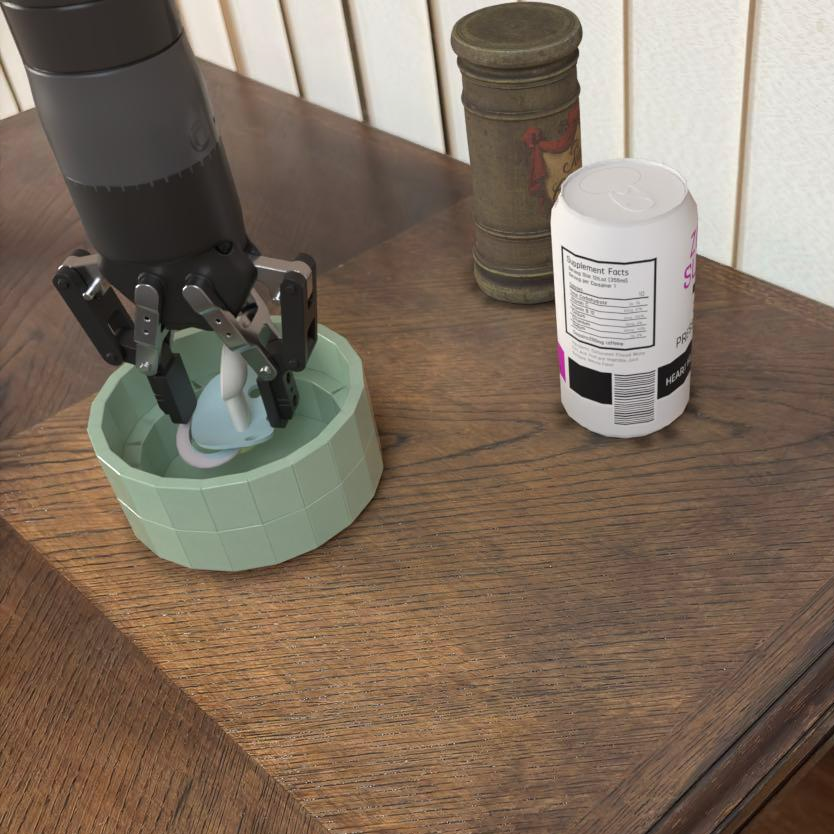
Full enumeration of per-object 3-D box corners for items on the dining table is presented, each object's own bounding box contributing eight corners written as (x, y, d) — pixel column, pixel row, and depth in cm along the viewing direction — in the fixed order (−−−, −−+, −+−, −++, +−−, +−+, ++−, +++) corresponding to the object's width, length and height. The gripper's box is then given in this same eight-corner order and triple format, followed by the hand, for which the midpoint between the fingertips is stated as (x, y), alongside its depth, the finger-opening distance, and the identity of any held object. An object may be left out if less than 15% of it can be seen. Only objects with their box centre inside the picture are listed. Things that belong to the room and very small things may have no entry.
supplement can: (539, 390, 71) (523, 179, 60) (646, 350, 73) (649, 139, 62) (600, 461, 65) (594, 244, 55) (713, 415, 68) (729, 198, 57)
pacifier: (174, 486, 61) (279, 469, 61) (136, 401, 56) (249, 384, 57) (184, 405, 66) (281, 390, 66) (150, 321, 61) (254, 306, 62)
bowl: (88, 568, 62) (39, 481, 57) (184, 398, 72) (151, 311, 67) (347, 584, 60) (321, 495, 55) (408, 406, 70) (390, 317, 65)
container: (465, 304, 78) (431, 54, 65) (486, 239, 84) (459, -2, 71) (587, 307, 77) (578, 53, 64) (599, 241, 83) (593, -4, 70)
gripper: (306, 104, 52) (368, 381, 64) (32, 103, 54) (143, 373, 66) (258, 181, 47) (335, 466, 59) (-43, 178, 48) (93, 454, 61)
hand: (233, 416), depth 62 cm, fingers closed on pacifier, 5 cm apart
